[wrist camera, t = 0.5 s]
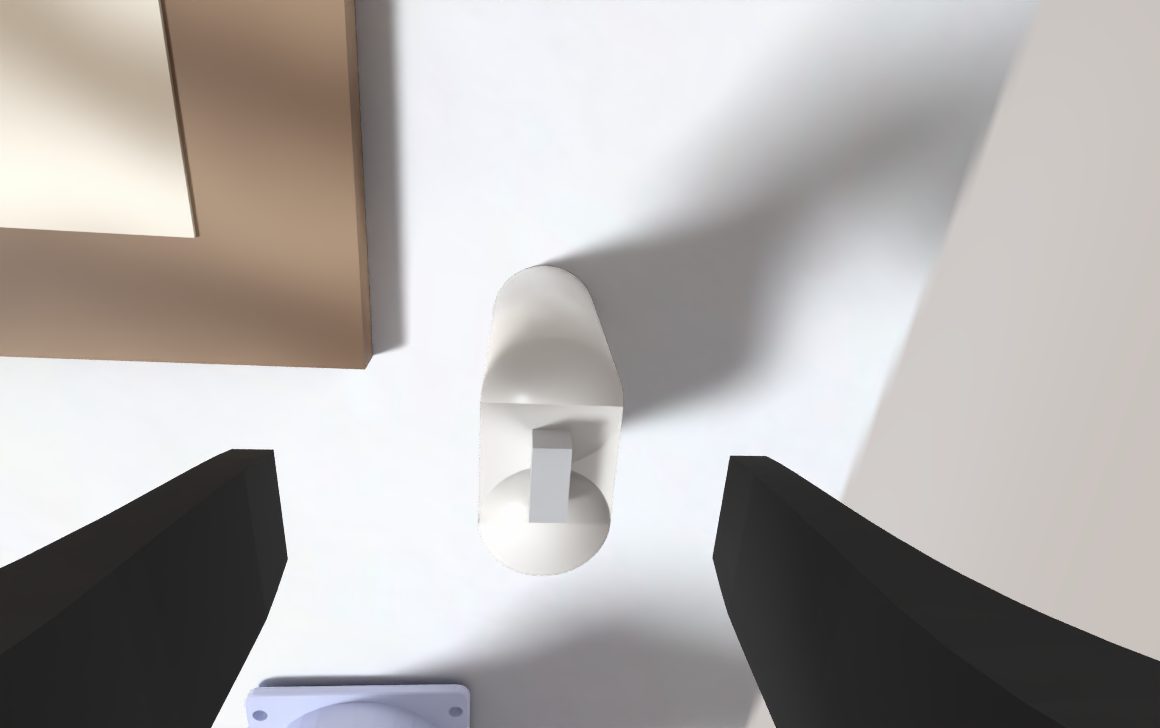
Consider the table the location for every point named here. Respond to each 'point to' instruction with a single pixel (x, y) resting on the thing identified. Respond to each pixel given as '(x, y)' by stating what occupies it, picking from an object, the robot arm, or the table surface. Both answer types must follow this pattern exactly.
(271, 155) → the walnut board
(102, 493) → the table surface
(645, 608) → the table surface
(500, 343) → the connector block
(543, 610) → the table surface
